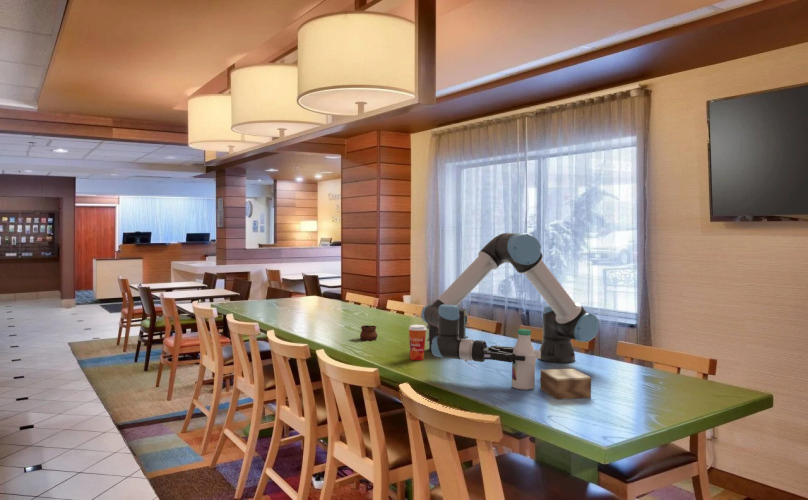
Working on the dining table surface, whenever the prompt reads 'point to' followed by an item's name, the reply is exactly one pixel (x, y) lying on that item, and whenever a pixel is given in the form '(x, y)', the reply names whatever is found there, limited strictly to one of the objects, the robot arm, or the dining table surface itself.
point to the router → (462, 328)
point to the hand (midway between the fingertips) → (537, 356)
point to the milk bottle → (520, 370)
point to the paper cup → (417, 341)
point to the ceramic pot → (368, 333)
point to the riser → (565, 383)
